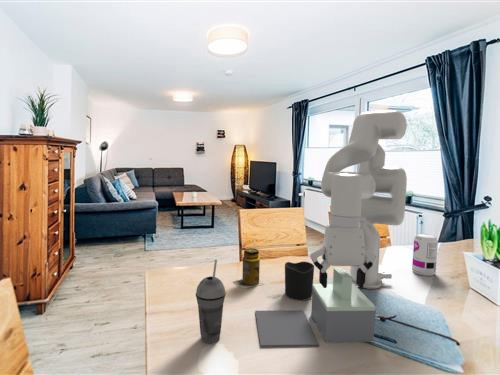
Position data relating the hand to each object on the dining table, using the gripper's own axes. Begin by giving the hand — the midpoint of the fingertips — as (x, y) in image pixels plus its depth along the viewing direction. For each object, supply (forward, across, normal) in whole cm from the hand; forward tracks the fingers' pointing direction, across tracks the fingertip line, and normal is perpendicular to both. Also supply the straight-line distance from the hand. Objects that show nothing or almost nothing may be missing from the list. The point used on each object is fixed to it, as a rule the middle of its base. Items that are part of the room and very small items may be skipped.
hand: (341, 286), depth 84 cm
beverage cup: (+12, +34, +4) cm, 36 cm away
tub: (+11, 0, 0) cm, 11 cm away
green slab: (+5, 0, 0) cm, 5 cm away
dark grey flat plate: (+12, +15, 0) cm, 19 cm away
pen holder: (+12, +7, -20) cm, 24 cm away
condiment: (+12, +23, -30) cm, 40 cm away
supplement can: (+11, -48, -40) cm, 63 cm away
